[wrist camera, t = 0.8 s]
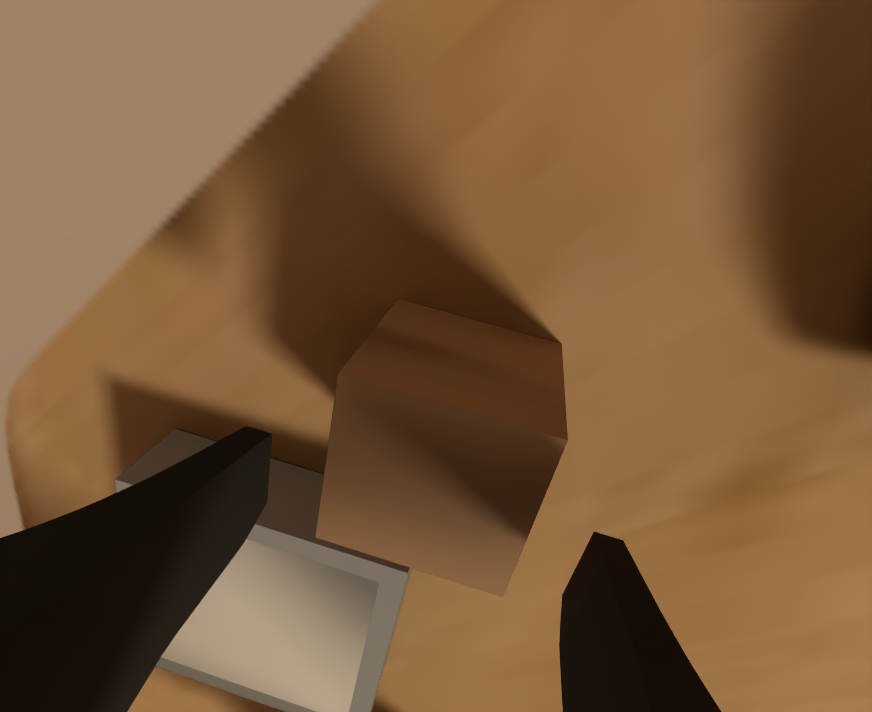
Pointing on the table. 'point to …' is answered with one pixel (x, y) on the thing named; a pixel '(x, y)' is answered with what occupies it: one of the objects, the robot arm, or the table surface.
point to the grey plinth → (286, 603)
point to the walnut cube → (443, 444)
